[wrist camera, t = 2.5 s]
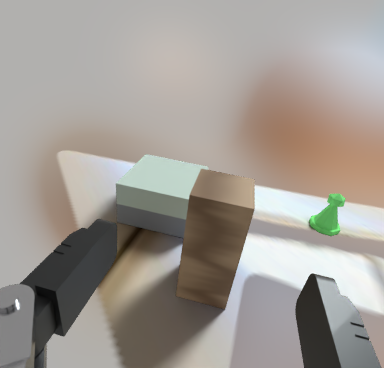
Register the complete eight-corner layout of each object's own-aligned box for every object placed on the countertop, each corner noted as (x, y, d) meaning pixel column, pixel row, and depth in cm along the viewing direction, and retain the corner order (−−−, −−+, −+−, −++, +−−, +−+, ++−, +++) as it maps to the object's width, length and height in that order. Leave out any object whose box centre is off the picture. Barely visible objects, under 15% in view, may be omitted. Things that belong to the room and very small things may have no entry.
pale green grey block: (202, 199, 42) (208, 166, 39) (189, 239, 33) (195, 200, 30) (144, 187, 43) (145, 154, 40) (117, 222, 34) (115, 183, 31)
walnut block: (229, 270, 29) (254, 179, 23) (225, 309, 25) (254, 209, 19) (186, 260, 30) (201, 168, 24) (175, 296, 26) (189, 194, 20)
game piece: (304, 217, 41) (317, 185, 38) (329, 218, 41) (344, 187, 38) (317, 235, 37) (333, 201, 34) (344, 236, 38) (362, 203, 35)
